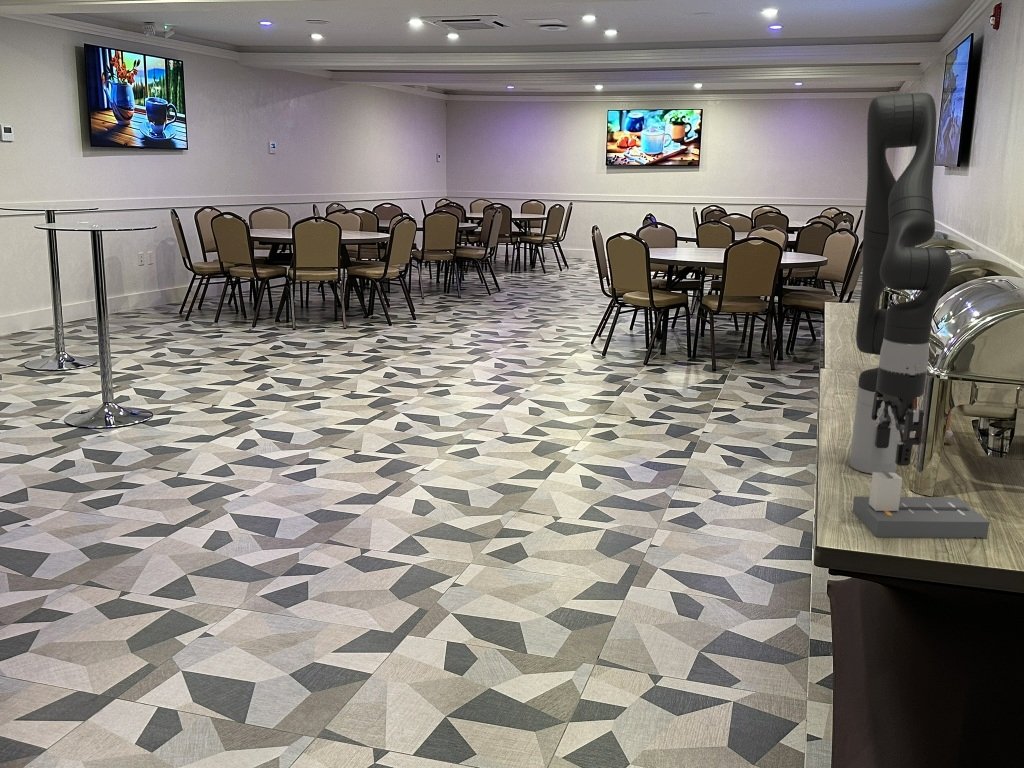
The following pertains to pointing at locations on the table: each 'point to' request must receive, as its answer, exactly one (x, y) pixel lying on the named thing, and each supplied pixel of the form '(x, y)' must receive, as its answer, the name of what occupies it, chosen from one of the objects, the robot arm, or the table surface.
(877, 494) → the fader
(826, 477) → the table surface
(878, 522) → the console
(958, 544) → the table surface
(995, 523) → the table surface
